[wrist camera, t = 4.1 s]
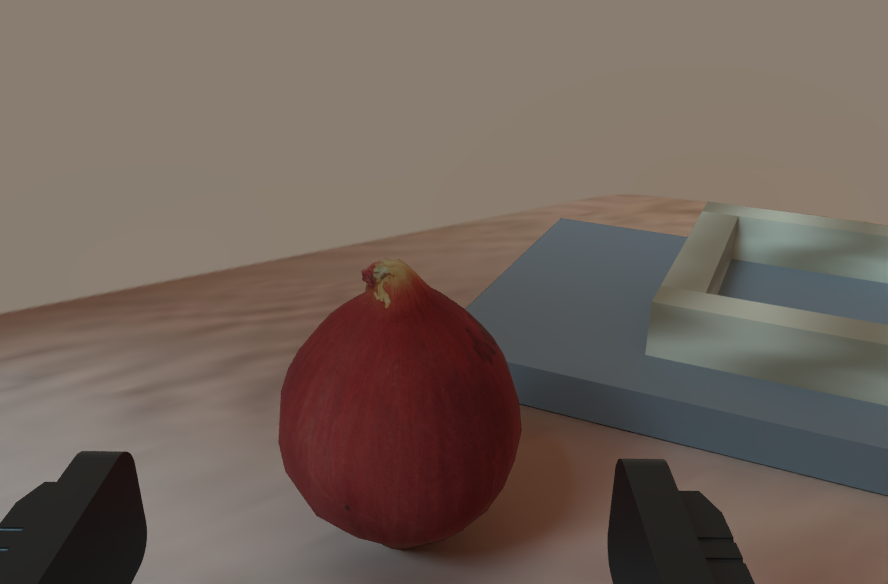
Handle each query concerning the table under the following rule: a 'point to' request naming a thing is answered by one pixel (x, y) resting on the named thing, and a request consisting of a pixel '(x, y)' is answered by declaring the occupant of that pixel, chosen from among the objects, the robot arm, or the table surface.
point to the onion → (399, 414)
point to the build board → (669, 382)
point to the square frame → (770, 326)
